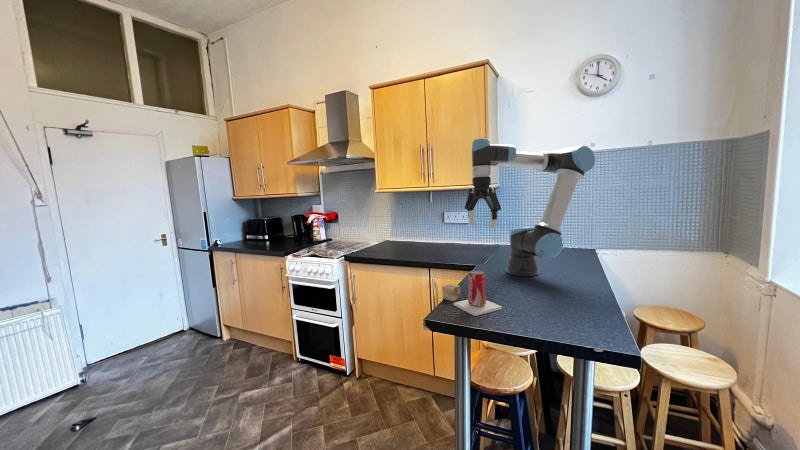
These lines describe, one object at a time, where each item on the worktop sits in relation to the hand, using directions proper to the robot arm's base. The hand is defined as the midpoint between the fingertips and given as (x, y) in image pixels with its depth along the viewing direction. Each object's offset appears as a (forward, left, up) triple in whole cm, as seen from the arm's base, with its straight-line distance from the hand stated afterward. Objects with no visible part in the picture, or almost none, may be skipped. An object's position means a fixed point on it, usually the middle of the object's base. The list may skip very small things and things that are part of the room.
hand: (481, 226), depth 136 cm
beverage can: (+18, +18, -26) cm, 36 cm away
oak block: (+20, +5, -27) cm, 34 cm away
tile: (+18, +18, -27) cm, 37 cm away
